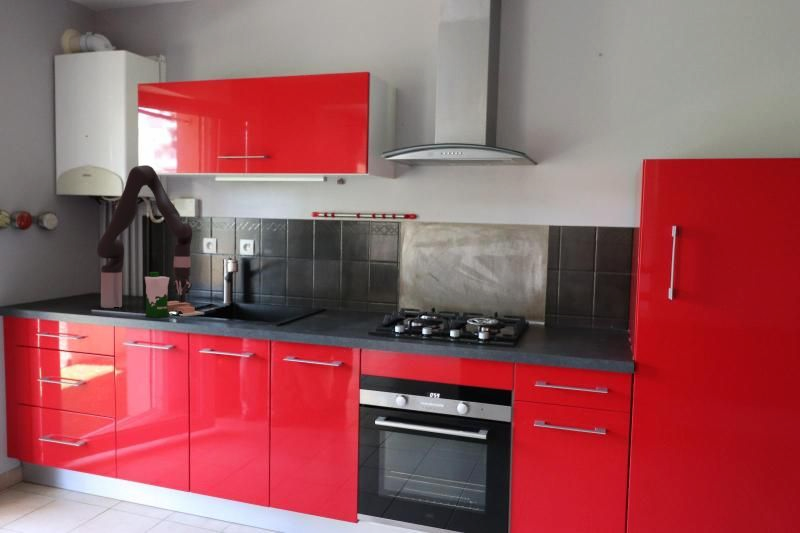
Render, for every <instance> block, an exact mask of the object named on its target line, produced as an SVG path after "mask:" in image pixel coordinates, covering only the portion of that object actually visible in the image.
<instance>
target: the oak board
mask: <svg viewBox="0 0 800 533" xmlns="http://www.w3.org/2000/svg"><path fill="white" fill-rule="evenodd" d="M174 306H190V307H191V303H190V302H186V301H185V302H184V303H179V300H170V301H168V313H169V312H170V311H173V307H174Z"/></svg>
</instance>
